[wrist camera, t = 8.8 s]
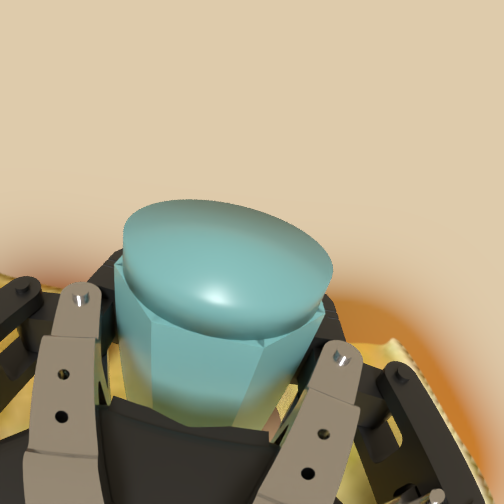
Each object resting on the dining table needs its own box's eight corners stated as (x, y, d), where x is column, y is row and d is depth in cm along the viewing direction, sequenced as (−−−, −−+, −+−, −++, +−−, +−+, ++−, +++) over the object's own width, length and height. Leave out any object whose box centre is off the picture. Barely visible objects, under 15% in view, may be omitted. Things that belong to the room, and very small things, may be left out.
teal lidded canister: (115, 389, 11) (99, 205, 7) (207, 354, 15) (242, 197, 11) (180, 486, 8) (203, 341, 4) (277, 426, 12) (366, 268, 8)
